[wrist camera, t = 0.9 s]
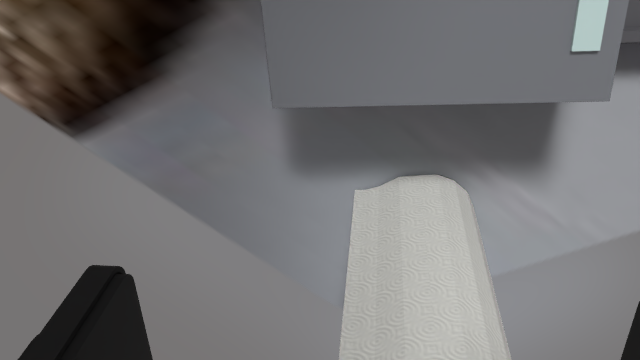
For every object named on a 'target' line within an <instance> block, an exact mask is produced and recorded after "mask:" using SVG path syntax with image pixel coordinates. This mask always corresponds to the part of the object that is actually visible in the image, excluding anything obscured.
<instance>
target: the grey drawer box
mask: <svg viewBox="0 0 640 360" xmlns="http://www.w3.org/2000/svg"><path fill="white" fill-rule="evenodd" d="M628 3H629V0H261V8H262V17H263V26H264V35H265V44H266V53H267V62H268V71H269V80H270V89H271V99H272V108H307V107H355V106H404V105H453V104H501V103H550V102H599V101H610V96H611V91H612V86H613V80H614V75H615V70H616V65H617V60H618V55H619V49H620V44H621V39H622V34H623V29H624V24H625V19H626V13H627V8H628Z"/></svg>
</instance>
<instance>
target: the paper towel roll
mask: <svg viewBox="0 0 640 360" xmlns="http://www.w3.org/2000/svg"><path fill="white" fill-rule="evenodd" d="M339 360H511V356H510V352H509V348H508V344H507V340H506V336H505V332H504V328H503V324H502V320H501V316H500V312H499V308H498V304H497V299H496V295H495V292H494V287H493V283H492V279H491V275H490V271H489V267H488V263H487V259H486V255H485V251H484V247H483V243H482V239H481V235H480V231H479V227H478V223H477V219H476V215H475V211H474V207H473V204H472V202H471V200H470V197H469V195H468V193H467V191H465V190H464V189H463V188H462V187H461V186H460V185H459V184H457V183H456V182H455V181H454V180H452V179H449V178H446V177H443V176H440V175H437V174H436V175H416V176H404V177H398V178H396V179H393V180H391V181H389V182H387V183H385V184H383V185H381V186H379V187H375V188H370V189H366V190H355V195H354V205H353V216H352V226H351V237H350V247H349V258H348V268H347V278H346V289H345V299H344V310H343V321H342V331H341V341H340V352H339Z"/></svg>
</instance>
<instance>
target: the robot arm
mask: <svg viewBox="0 0 640 360" xmlns="http://www.w3.org/2000/svg"><path fill="white" fill-rule="evenodd" d="M18 360H153V359H152V355H151V351H150V346H149V342H148V338H147V334H146V329H145V325H144V321H143V317H142V312H141V308H140V304H139V300H138V295H137V291H136V287H135V283H134V279H133V277H132V276H131V275H130V274H126V273H125V271H124V269H123V268H122V267H120V266H100V265H92V266H89V267H88V268H87V269H86V271H85V272H84V273H83V275H82V276H81V278H80V279H79V280H78V282H77V283H76V284H75V286H74V287H73V289H72V290H71V291H70V293H69V294H68V295H67V297H66V298H65V299H64V301H63V302H62V304H61V305H60V306H59V308H58V309H57V310H56V312H55V313H54V315H53V316H52V317H51V319H50V320H49V322H48V323H47V324H46V326H45V327H44V328H43V330H42V331H41V333H40V334H38V335H37V336H36V337H35V338H34V339H33V340H32V341H31V343H30V344H29V345H28V347H27V348H26V349H25V351H24V352H23V353H22V355H21V356H20V358H19V359H18ZM621 360H640V302H639V304H638V307H637V310H636V313H635V317H634V319H633V323H632V326H631V329H630V332H629V335H628V338H627V342H626V344H625V348H624V351H623V354H622V357H621Z"/></svg>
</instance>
